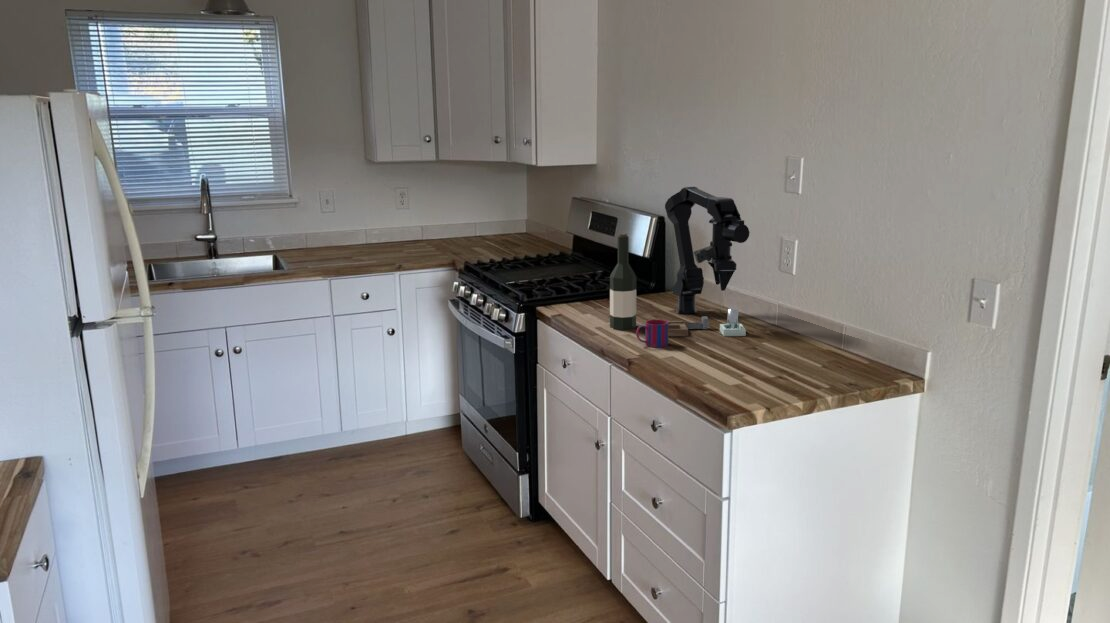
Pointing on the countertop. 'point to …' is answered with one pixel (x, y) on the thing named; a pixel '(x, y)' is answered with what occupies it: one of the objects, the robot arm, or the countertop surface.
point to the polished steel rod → (732, 318)
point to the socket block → (677, 329)
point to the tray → (732, 330)
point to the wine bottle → (623, 289)
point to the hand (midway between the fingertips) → (720, 287)
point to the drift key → (697, 324)
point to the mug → (655, 333)
